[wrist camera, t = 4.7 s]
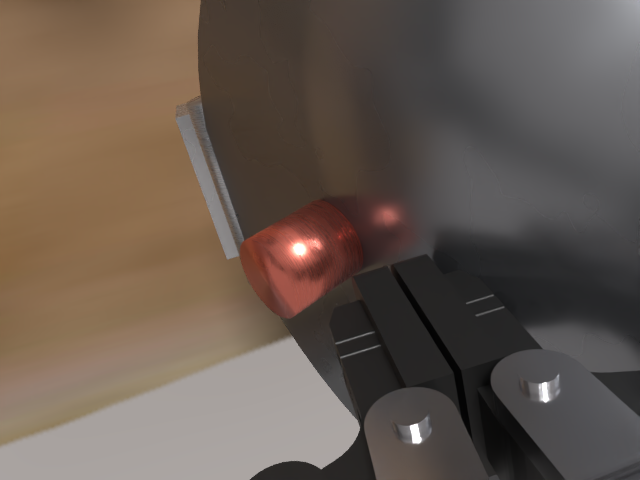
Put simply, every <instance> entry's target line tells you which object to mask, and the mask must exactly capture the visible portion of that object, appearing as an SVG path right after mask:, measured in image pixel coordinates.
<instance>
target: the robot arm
mask: <svg viewBox="0 0 640 480" xmlns="http://www.w3.org/2000/svg"><path fill="white" fill-rule="evenodd" d="M352 284H353V289H354V293H355V297H356V301H354V302H351V303H348V304H345V305H341V306H338V307H335V308H334V310H333V313H332V317H331V320H330V323H329V327H330V331H331V334H332V338H333V341H334V345H335V349H336V352H337V356H338V359H339V363H340V367H341V370H342V374H343V378H344V381H345V385H346V388H347V391H348V394H349V396H350V399H351V402H352V405H353V408H354V411H355V414H356V417H357V419H358V422H359V425H360V431H359V434H358V436H357V438H356V440H355V441H354V443H353V445H352V446H351V447H350V448H349V449H348V450H347V451H346V452H345V453H344V454H343V455H342V456H341V457H339V458H338V459H336V460H335V461H334V462H332V463H331V464H329V465H327V466H326V467H324V468H323V469H319V468H318V467H316V466H314V465H312V464H309V463H306V462H300V461H289V462H282V463H279V464H275V465H273V466H270V467H268V468H266V469H264V470H263V471H261V472H259V473H258V474H256V475H255V476H254V477H252V478H251V479H250V480H490V479H489V477H491V476H494V475H497V476H498V477H499V479H500V480H640V370H638V371H623V372H604V373H600V372H589V371H588V370H587V369H586V368H585V367H584V366H583V365H582V364H581V363H579V362H578V361H577V360H575V359H574V358H572V357H570V356H568V355H566V354H563V353H560V352H557V351H552V350H546V349H543V348H542V347H541V346H540V345H539V344H538V343H537V342H536V340H535V339H534V338H533V337H532V336H531V335H530V334H529V333H528V332H527V330H526V329H525V328H524V327H523V326H522V325H521V324H520V323H519V321H518V320H517V319H516V318H515V317H514V316H513V315H512V314H511V312H510V311H509V310H508V309H507V308H504V305H503V304H502V302H501V301H500V300H499V299H498V298H497V297H496V296H494V295H493V292H492V291H491V290H490V289H489V288H488V287H487V286H486V284H485V283H484V282H483V281H482V280H481V279H480V278H478V277H475V276H473V275H471V274H468V273H466V272H464V271H461V270H456V271H453V272H450V273H446V274H443V273H442V272H441V271H440V269H439V268H438V267H437V266H436V264H435V263H434V262H433V261H432V259H431V258H430V257H429V256H428V255H427V254H424V255H420V256H417V257H414V258H410V259H407V260H404V261H400V262H397V263H394V264H391V271H390V270H389V268H388V267H387V266H384V267H381V268H378V269H374V270H371V271H368V272H364V273H361V274H358V275H354V276H352Z"/></svg>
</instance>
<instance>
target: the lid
mask: <svg viewBox="0 0 640 480" xmlns="http://www.w3.org/2000/svg"><path fill="white" fill-rule="evenodd" d="M198 71H199V81H200V91H201V96H198V97H196V98H194V99H192V100H190V101H188V102H187V103H186V107H187V110H188V113H189V115H190V118H191V121H192V124H193V127H194V129H195V132H196V135H197V138H198V141H199V144H200V146H201V149H202V152H203V155H204V158H205V161H206V163H207V166H208V169H209V172H210V175H211V177H212V180H213V183H214V186H215V189H216V192H217V194H218V197H219V200H220V203H221V206H222V209H223V211H224V214H225V217H226V220H227V223H228V226H229V228H230V231H231V234H232V237H233V240H234V242H235V245H236V248H237V251H238V254H239V257H240V259H241V263H242V266H243V269H244V272H245V274H246V276H247V279H248V282H249V284H250V285H251V286H252V287H253V289H254V290H255V292H256V293H257V295H258V296H259V297H260V299H261V300H262V301H263V302H264V303H265V305H266V306H267V307H268V308H269V309H271V310H272V311H273V312H274V313H276V314H277V315H279V316H280V317H281V319H282V320H283V322H284V323H285V325H286V327H287V328H288V330H289V331H290V333H291V334H292V336H293V337H294V339H295V340H296V342H297V343H298V345H299V346H300V348H301V349H302V351H303V352H304V354H305V355H306V356H307V358H308V359H309V361H310V362H311V363H312V365H313V366H314V367H315V369H316V370H317V372H318V373H319V374H320V376H321V377H322V378H323V379H324V381H325V382H326V383H327V384H328V386H329V387H330V388H331V390H332V391H333V392H334V393H335V394H336V396H337V397H338V398H339V399H340V401H341V402H342V403H343V404H344V405H345V407H346V408H347V409H348V410H349V411H350V412H351V413H352V415H353V416H354V417H355V418H356V419H357V417H356V414H355V411H354V408H353V405H352V402H351V399H350V396H349V394H348V391H347V388H346V385H345V381H344V378H343V374H342V370H341V367H340V363H339V359H338V356H337V352H336V349H335V345H334V341H333V338H332V334H331V331H330V327H329V323H330V320H331V317H332V313H333V310H334V308H335V307H338V306H341V305H345V304H348V303H351V302H354V301H356V297H355V293H354V289H353V284H352V276H354V275H358V274H361V273H364V272H368V271H371V270H374V269H378V268H381V267H384V266H387V267H388V268H389V270H390V271H391V264H394V263H397V262H400V261H404V260H407V259H410V258H414V257H417V256H420V255H424V254H427V255H428V256H429V257H430V258H431V259H432V261H433V262H434V263H435V264H436V266H437V267H438V268H439V269H440V271H441V272H442V273H443V274H446V273H450V272H453V271H456V270H461V271H464V272H466V273H468V274H471V275H473V276H475V277H478V278H480V279H481V280H482V281H483V282H484V283H485V284H486V286H487V287H488V288H489V289H490V290H491V291H492V292H493V295H494V296H496V297H497V298H498V299H499V300H500V301H501V302H502V304H503V305H504V308H507V309H508V310H509V311H510V312H511V314H512V315H513V316H514V317H515V318H516V319H517V320H518V321H519V323H520V324H521V325H522V326H523V327H524V328H525V329H526V330H527V332H528V333H529V334H530V335H531V336H532V337H533V338H534V339H535V340H536V342H537V343H538V344H539V345H540V346H541V347H542V348H543V349H546V350H552V351H557V352H560V353H563V354H566V355H568V356H570V357H572V358H574V359H575V360H577V361H578V362H579V363H581V364H582V365H583V366H584V367H585V368H586V369H587V370H588V371H589V372H600V373H604V372H623V371H638V370H640V0H201V5H200V17H199V29H198ZM357 420H358V419H357ZM489 479H490V480H500V479H499V477H498V476H497V475H494V476H491V477H489Z"/></svg>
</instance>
